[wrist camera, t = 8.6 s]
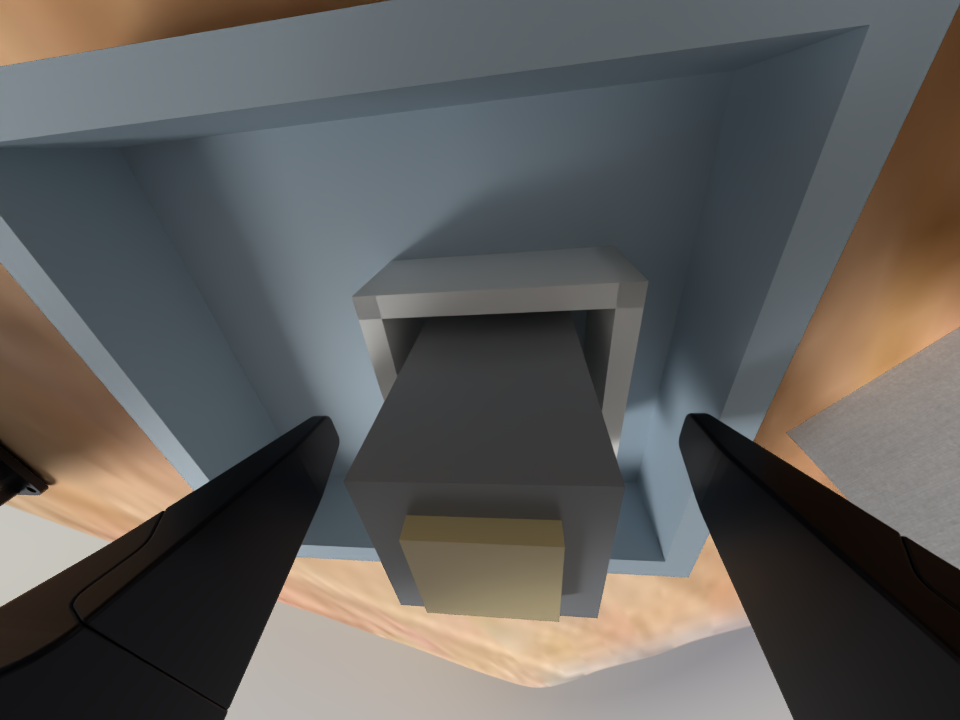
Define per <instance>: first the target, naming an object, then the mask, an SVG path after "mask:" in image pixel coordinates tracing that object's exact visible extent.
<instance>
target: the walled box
mask: <svg viewBox="0 0 960 720" xmlns="http://www.w3.org/2000/svg"><path fill="white" fill-rule="evenodd" d="M959 4H960V0H389V1H384V2H378V3H372V4H366V5H360V6H354V7H348V8H342V9H336V10H330V11H325V12H319V13H313V14H307V15H301V16H295V17H289V18H283V19H277V20H272V21H266V22H260V23H254V24H248V25H242V26H236V27H230V28H224V29H218V30H213V31H207V32H201V33H195V34H189V35H183V36H177V37H171V38H165V39H160V40H154V41H148V42H142V43H136V44H130V45H124V46H118V47H112V48H106V49H101V50H95V51H89V52H83V53H77V54H71V55H65V56H59V57H53V58H48V59H42V60H36V61H30V62H24V63H18V64H12V65H6V66H0V263H1V264H2V265H3V266H4V268H5V269H6V270H7V271H8V272H9V273H10V275H11V276H12V277H13V278H14V279H15V281H16V282H17V283H18V284H19V285H20V286H21V288H22V289H23V290H24V291H25V292H26V293H27V295H28V296H29V297H30V298H31V299H32V301H33V302H34V303H35V304H36V305H37V306H38V308H39V309H40V310H41V311H42V312H43V314H44V315H45V316H46V317H47V318H48V319H49V321H50V322H51V323H52V324H53V325H54V327H55V328H56V329H57V330H58V331H59V332H60V334H61V335H62V336H63V337H64V338H65V339H66V341H67V342H68V343H69V344H70V345H71V347H72V348H73V349H74V350H75V351H76V352H77V354H78V355H79V356H80V357H81V358H82V360H83V361H84V362H85V363H86V364H87V365H88V367H89V368H90V369H91V370H92V371H93V373H94V374H95V375H96V376H97V377H98V378H99V380H100V381H101V382H102V383H103V384H104V386H105V387H106V388H107V389H108V390H109V391H110V393H111V394H112V395H113V396H114V397H115V398H116V400H117V401H118V402H119V403H120V404H121V406H122V407H123V408H124V409H125V410H126V411H127V413H128V414H129V415H130V416H131V417H132V419H133V420H134V421H135V422H136V423H137V424H138V426H139V427H140V428H141V429H142V430H143V432H144V433H145V434H146V435H147V436H148V437H149V439H150V440H151V441H152V442H153V443H154V444H155V446H156V447H157V448H158V449H159V450H160V452H161V453H162V454H163V455H164V456H165V457H166V459H167V460H168V461H169V462H170V463H171V465H172V466H173V467H174V468H175V469H176V470H177V472H178V473H179V474H180V475H181V476H182V478H183V479H184V480H185V481H186V482H187V483H188V485H189V486H190V487H191V488H192V489H193V491H195V490H196V489H198V488H200V487H201V486H203V485H204V484H206V483H208V482H209V481H211V480H212V479H214V478H215V477H217V476H219V475H220V474H222V473H223V472H225V471H227V470H228V469H230V468H231V467H233V466H234V465H236V464H238V463H239V462H241V461H242V460H244V459H245V458H247V457H249V456H250V455H252V454H253V453H255V452H257V451H258V450H260V449H261V448H263V447H264V446H266V445H268V444H269V443H271V442H272V441H274V440H276V439H277V438H279V437H280V436H282V435H283V434H285V433H287V432H288V431H290V430H291V429H293V428H294V427H296V426H298V425H299V424H301V423H302V422H304V421H306V420H307V419H309V418H310V417H312V416H318V415H326V416H329V417H330V418H331V419H332V421H333V424H334V426H335V428H336V431H337V433H338V435H339V439H340V444H339V448H338V451H337V454H336V457H335V460H334V464H333V467H332V470H331V473H330V476H329V479H328V482H327V485H326V488H325V491H324V494H323V496H322V499H321V501H320V504H319V506H318V509H317V511H316V513H315V515H314V518H313V520H312V522H311V524H310V527H309V529H308V531H307V533H306V536H305V538H304V540H303V542H302V545H301V547H300V549H299V551H298V554H297V556H296V557H303V558H323V559H342V560H361V561H380V559H379V556H378V554H377V552H376V550H375V548H374V546H373V544H372V541H371V539H370V537H369V535H368V533H367V531H366V529H365V527H364V524H363V522H362V520H361V518H360V516H359V514H358V512H357V510H356V507H355V505H354V503H353V501H352V499H351V497H350V495H349V492H348V490H347V488H346V486H345V484H344V482H343V481H344V479H345V477H346V475H347V473H348V471H349V469H350V467H351V465H352V463H353V461H354V459H355V458H356V456H357V454H358V452H359V450H360V448H361V446H362V444H363V442H364V440H365V438H366V436H367V434H368V432H369V430H370V429H371V427H372V425H373V423H374V421H375V419H376V417H377V415H378V413H379V411H380V409H381V407H382V405H383V403H384V400H383V397H382V394H381V391H380V387H379V384H378V381H377V378H376V374H375V371H374V368H373V365H372V362H371V358H370V355H369V352H368V349H367V345H366V342H365V339H364V336H363V333H362V329H361V326H360V323H359V320H358V316H357V313H356V310H355V307H354V304H353V300H352V296H353V295H354V294H355V293H356V292H357V291H359V290H360V289H361V288H362V287H363V286H364V285H365V284H366V283H367V282H368V281H369V280H371V279H372V278H373V277H374V276H375V275H376V274H377V273H378V272H379V271H380V270H381V269H383V268H384V267H385V266H386V265H387V264H388V263H389V262H390V261H393V260H408V259H423V258H437V257H452V256H467V255H482V254H497V253H512V252H527V251H542V250H557V249H572V248H587V247H601V246H615V247H616V248H617V249H618V250H619V251H620V252H621V253H622V254H623V255H624V256H625V257H626V258H627V259H628V260H629V261H630V262H631V263H632V264H633V265H634V266H635V267H636V269H637V270H638V271H639V272H640V273H641V274H642V275H643V276H644V277H645V278H646V279H647V280H648V281H649V282H648V287H647V293H646V298H645V304H644V309H643V315H642V321H641V326H640V332H639V337H638V343H637V348H636V354H635V359H634V365H633V370H632V376H631V381H630V387H629V393H628V398H627V404H626V409H625V415H624V420H623V426H622V431H621V437H620V442H619V448H618V454H617V462H618V465H619V469H620V472H621V475H622V478H623V481H624V484H625V490H624V495H623V500H622V504H621V509H620V514H619V519H618V523H617V528H616V533H615V537H614V542H613V547H612V551H611V556H610V561H609V566H608V570H607V573H613V574H633V575H652V576H671V577H689V575H690V573H691V571H692V569H693V567H694V565H695V563H696V560H697V558H698V556H699V554H700V552H701V550H702V548H703V546H704V544H705V541H706V539H707V537H708V535H709V533H710V532H709V530H708V528H707V525H706V523H705V521H704V519H703V516H702V514H701V512H700V509H699V507H698V504H697V501H696V498H695V495H694V492H693V489H692V486H691V483H690V479H689V476H688V473H687V470H686V467H685V464H684V461H683V458H682V455H681V451H680V448H679V436H680V432H681V429H682V426H683V423H684V420H685V417H686V415H687V414H689V413H707V414H710V415H711V416H713V417H715V418H716V419H718V420H720V421H721V422H723V423H724V424H726V425H728V426H729V427H731V428H732V429H734V430H736V431H737V432H739V433H740V434H742V435H744V436H745V437H747V438H748V439H750V440H752V441H753V440H754V438H755V436H756V434H757V432H758V429H759V427H760V425H761V423H762V421H763V419H764V417H765V415H766V413H767V410H768V408H769V406H770V404H771V402H772V400H773V398H774V396H775V393H776V391H777V389H778V387H779V385H780V383H781V381H782V379H783V377H784V374H785V372H786V370H787V368H788V366H789V364H790V362H791V360H792V358H793V355H794V353H795V351H796V349H797V347H798V345H799V343H800V341H801V339H802V336H803V334H804V332H805V330H806V328H807V326H808V324H809V322H810V319H811V317H812V315H813V313H814V311H815V309H816V307H817V305H818V303H819V300H820V298H821V296H822V294H823V292H824V290H825V288H826V286H827V284H828V281H829V279H830V277H831V275H832V273H833V271H834V269H835V267H836V265H837V262H838V260H839V258H840V256H841V254H842V252H843V250H844V248H845V245H846V243H847V241H848V239H849V237H850V235H851V233H852V231H853V229H854V226H855V224H856V222H857V220H858V218H859V216H860V214H861V212H862V210H863V207H864V205H865V203H866V201H867V199H868V197H869V195H870V193H871V191H872V188H873V186H874V184H875V182H876V180H877V178H878V176H879V174H880V171H881V169H882V167H883V165H884V163H885V161H886V159H887V157H888V155H889V152H890V150H891V148H892V146H893V144H894V142H895V140H896V138H897V136H898V133H899V131H900V129H901V127H902V125H903V123H904V121H905V119H906V117H907V114H908V112H909V110H910V108H911V106H912V104H913V102H914V100H915V98H916V95H917V93H918V91H919V89H920V87H921V85H922V83H923V81H924V78H925V76H926V74H927V72H928V70H929V68H930V66H931V64H932V62H933V59H934V57H935V55H936V53H937V51H938V49H939V47H940V45H941V43H942V40H943V38H944V36H945V34H946V32H947V30H948V28H949V26H950V24H951V21H952V19H953V17H954V15H955V13H956V11H957V9H958V7H959ZM570 313H571V316H572V320H573V323H574V326H575V329H576V332H577V335H578V339H579V342H580V345H581V348H582V351H583V354H584V345H585V334H586V322H587V310H570ZM421 318H422V323H423V326H424V324H425V322H426V320H427V318H428V317H421Z"/></svg>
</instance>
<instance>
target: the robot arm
mask: <svg viewBox="0 0 960 720" xmlns="http://www.w3.org/2000/svg"><path fill="white" fill-rule="evenodd" d="M339 444H340V439H339V435H338V433H337V431H336V428H335V426H334V424H333V421H332V419H331V418H330V417H329V416H326V415H318V416H312V417H310V418H309V419H307V420H306V421H304V422H302V423H301V424H299V425H298V426H296V427H294V428H293V429H291V430H290V431H288V432H287V433H285V434H283V435H282V436H280V437H279V438H277V439H276V440H274V441H272V442H271V443H269V444H268V445H266V446H264V447H263V448H261V449H260V450H258V451H257V452H255V453H253V454H252V455H250V456H249V457H247V458H245V459H244V460H242V461H241V462H239V463H238V464H236V465H234V466H233V467H231V468H230V469H228V470H227V471H225V472H223V473H222V474H220V475H219V476H217V477H215V478H214V479H212V480H211V481H209V482H208V483H206V484H204V485H203V486H201V487H200V488H198V489H196V490H195V491H193V492H192V493H190V494H189V495H187V496H185V497H184V498H182V499H181V500H179V501H178V502H176V503H174V504H173V505H171V506H170V507H168V508H167V509H166V510H165V511H162V512H160V513H158V514H157V515H155V516H154V517H152V518H151V519H149V520H147V521H146V522H144V523H143V524H141V525H139V526H138V527H136V528H135V529H133V530H131V531H130V532H128V533H126V534H125V535H123V536H122V537H120V538H118V539H117V540H115V541H114V542H112V543H110V544H108V545H107V546H105V547H103V548H102V549H100V550H98V551H97V552H95V553H93V554H91V555H90V556H88V557H86V558H85V559H83V560H81V561H79V562H78V563H76V564H74V565H73V566H71V567H69V568H67V569H66V570H64V571H62V572H61V573H59V574H57V575H55V576H54V577H52V578H50V579H48V580H47V581H45V582H43V583H41V584H40V585H38V586H36V587H35V588H33V589H31V590H29V591H27V592H26V593H24V594H22V595H20V596H19V597H17V598H15V599H14V600H12V601H10V602H8V603H7V604H5V605H3V606H1V607H0V720H224V719H225V717H226V714H227V709H228V708H229V707H230V705H231V703H232V700H233V698H234V696H235V694H236V691H237V689H238V687H239V685H240V682H241V680H242V678H243V676H244V673H245V671H246V669H247V666H248V664H249V662H250V660H251V657H252V655H253V653H254V651H255V648H256V646H257V644H258V642H259V639H260V637H261V635H262V633H263V630H264V628H265V626H266V624H267V621H268V619H269V617H270V615H271V612H272V610H273V608H274V605H275V603H276V601H277V599H278V597H279V594H280V592H281V590H282V588H283V585H284V583H285V581H286V579H287V576H288V574H289V572H290V570H291V567H292V565H293V563H294V560H295V558H296V556H297V554H298V551H299V549H300V547H301V545H302V542H303V540H304V538H305V536H306V533H307V531H308V529H309V527H310V524H311V522H312V520H313V518H314V515H315V513H316V511H317V509H318V506H319V504H320V501H321V499H322V496H323V494H324V491H325V488H326V485H327V482H328V479H329V476H330V473H331V470H332V467H333V464H334V460H335V457H336V454H337V451H338V448H339ZM679 448H680V451H681V455H682V458H683V461H684V464H685V467H686V470H687V473H688V476H689V479H690V483H691V486H692V489H693V492H694V495H695V498H696V501H697V504H698V507H699V509H700V512H701V514H702V516H703V519H704V521H705V523H706V525H707V528H708V530H709V532H710V534H711V537H712V539H713V541H714V543H715V546H716V548H717V550H718V552H719V554H720V557H721V559H722V561H723V563H724V566H725V568H726V570H727V572H728V574H729V577H730V579H731V581H732V583H733V586H734V588H735V590H736V592H737V594H738V597H739V599H740V601H741V603H742V606H743V608H744V610H745V612H746V614H747V617H748V619H749V621H750V623H751V626H752V628H753V630H754V632H755V635H756V637H757V639H758V641H759V643H760V646H761V648H762V650H763V652H764V655H765V657H766V659H767V661H768V663H769V666H770V668H771V670H772V672H773V674H774V677H775V679H776V681H777V683H778V685H779V688H780V690H781V692H782V695H783V697H784V699H785V701H786V703H787V706H788V708H789V710H790V712H791V715H792V717H793V719H794V720H960V569H958V568H956V567H955V566H953V565H951V564H950V563H948V562H947V561H945V560H943V559H942V558H940V557H938V556H937V555H935V554H933V553H932V552H930V551H929V550H927V549H925V548H924V547H922V546H921V545H919V544H917V543H916V542H914V541H913V540H911V539H909V538H908V537H906V536H901V535H900V533H899V532H898V531H896V530H895V529H893V528H891V527H890V526H888V525H887V524H885V523H883V522H882V521H880V520H879V519H877V518H875V517H874V516H872V515H871V514H869V513H867V512H866V511H864V510H863V509H861V508H859V507H858V506H856V505H854V504H853V503H851V502H850V501H848V500H846V499H845V498H843V497H842V496H840V495H838V494H837V493H835V492H834V491H832V490H830V489H829V488H827V487H826V486H824V485H822V484H821V483H819V482H818V481H816V480H814V479H813V478H811V477H809V476H808V475H806V474H805V473H803V472H801V471H800V470H798V469H797V468H795V467H793V466H792V465H790V464H789V463H787V462H785V461H784V460H782V459H781V458H779V457H777V456H776V455H774V454H773V453H771V452H769V451H768V450H766V449H765V448H763V447H761V446H760V445H758V444H756V443H755V442H753V441H752V440H750V439H748V438H747V437H745V436H744V435H742V434H740V433H739V432H737V431H736V430H734V429H732V428H731V427H729V426H728V425H726V424H724V423H723V422H721V421H720V420H718V419H716V418H715V417H713V416H711V415H710V414H707V413H689V414H687V415H686V417H685V420H684V423H683V426H682V429H681V432H680V436H679ZM47 489H48V486H47V485H46V484H45V483H44V482H43V481H41V480H40V479H39V478H38V477H37V476H35V475H34V474H33V473H32V472H31V471H29V470H28V469H27V468H26V467H25V466H23V465H22V464H21V463H20V462H19V461H17V460H16V459H15V458H14V457H13V456H12V455H10V454H9V453H8V452H7V451H6V450H4V449H3V448H2V447H1V446H0V506H1V505H3V504H4V503H6V502H7V501H9V500H10V499H11V498H13V497H14V496H16V495H40V494H42V493H43V492H45V491H46V490H47Z"/></svg>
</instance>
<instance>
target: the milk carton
mask: <svg viewBox="0 0 960 720" xmlns="http://www.w3.org/2000/svg"><path fill="white" fill-rule="evenodd" d="M787 434H788V435H789V436H790V437H791V438H792V440H793V441H794V442H795V443H796V444H797V445H798V446H799V447H800V448H801V449H802V450H803V451H804V452H805V454H806V455H807V456H808V457H809V458H810V459H811V460H812V461H813V462H814V463H815V464H816V465H817V466H818V467H819V469H820V470H821V471H822V472H823V473H824V474H825V475H826V476H827V477H828V478H829V479H830V480H831V481H832V483H833V484H834V485H835V486H836V487H837V488H838V489H839V490H840V491H841V492H842V493H843V494H844V495H845V497H846V498H847V499H848V500H849V501H850V502H851V503H853V504H854V505H856V506H858V507H859V508H861V509H863V510H864V511H866V512H867V513H869V514H871V515H872V516H874V517H875V518H877V519H879V520H880V521H882V522H883V523H885V524H887V525H888V526H890V527H891V528H893V529H895V530H896V531H898V532H899V533H900V535H901V536H906V537H908V538H909V539H911V540H913V541H914V542H916V543H917V544H919V545H921V546H922V547H924V548H925V549H927V550H929V551H930V552H932V553H933V554H935V555H937V556H938V557H940V558H942V559H943V560H945V561H947V562H948V563H950V564H951V565H953V566H955V567H956V568H958V569H960V327H959V328H957V329H956V330H954V331H952V332H951V333H949V334H948V335H946V336H944V337H943V338H941V339H939V340H938V341H936V342H934V343H933V344H931V345H929V346H928V347H926V348H925V349H923V350H921V351H920V352H918V353H916V354H915V355H913V356H911V357H910V358H908V359H907V360H905V361H903V362H902V363H900V364H898V365H897V366H895V367H893V368H892V369H890V370H888V371H887V372H885V373H884V374H882V375H880V376H879V377H877V378H875V379H874V380H872V381H870V382H869V383H867V384H865V385H864V386H862V387H861V388H859V389H857V390H856V391H854V392H852V393H851V394H849V395H847V396H846V397H844V398H842V399H841V400H839V401H838V402H836V403H834V404H833V405H831V406H829V407H828V408H826V409H824V410H823V411H821V412H820V413H818V414H816V415H815V416H813V417H811V418H810V419H808V420H806V421H805V422H803V423H801V424H800V425H798V426H797V427H795V428H793V429H792V430H790V431H788V432H787Z"/></svg>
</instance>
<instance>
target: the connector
mask: <svg viewBox="0 0 960 720" xmlns="http://www.w3.org/2000/svg"><path fill="white" fill-rule="evenodd" d="M343 482H344V484H345V486H346V488H347V490H348V492H349V495H350V497H351V499H352V501H353V503H354V505H355V507H356V510H357V512H358V514H359V516H360V518H361V520H362V522H363V524H364V527H365V529H366V531H367V533H368V535H369V537H370V539H371V541H372V544H373V546H374V548H375V550H376V552H377V554H378V556H379V559H380V561H381V563H382V565H383V567H384V569H385V571H386V573H387V576H388V578H389V580H390V582H391V584H392V586H393V588H394V590H395V593H396V595H397V597H398V599H399V601H400V603H401V605H411V606H425V608H426V611H427V613H440V614H454V615H469V616H483V617H497V618H511V619H526V620H540V621H554V622H559V617H560V616H573V617H588V618H597V617H598V613H599V608H600V603H601V599H602V594H603V589H604V584H605V580H606V575H607V570H608V566H609V561H610V556H611V551H612V547H613V542H614V537H615V533H616V528H617V523H618V519H619V514H620V509H621V504H622V500H623V495H624V490H625V484H624V481H623V478H622V475H621V472H620V469H619V465H618V462H617V459H616V456H615V453H614V450H613V446H612V443H611V440H610V437H609V434H608V431H607V427H606V424H605V421H604V418H603V415H602V412H601V408H600V405H599V402H598V399H597V396H596V393H595V389H594V386H593V383H592V380H591V377H590V374H589V370H588V367H587V364H586V361H585V358H584V354H583V351H582V348H581V345H580V342H579V339H578V335H577V332H576V329H575V326H574V323H573V320H572V316H571V313H570V311H548V312H525V313H502V314H480V315H457V316H435V317H428V318H427V320H426V322H425V324H424V326H423V328H422V330H421V332H420V334H419V336H418V338H417V340H416V342H415V343H414V345H413V347H412V349H411V351H410V353H409V355H408V357H407V359H406V361H405V363H404V365H403V367H402V369H401V371H400V372H399V374H398V376H397V378H396V380H395V382H394V384H393V386H392V388H391V390H390V392H389V394H388V396H387V398H386V400H385V401H384V403H383V405H382V407H381V409H380V411H379V413H378V415H377V417H376V419H375V421H374V423H373V425H372V427H371V429H370V430H369V432H368V434H367V436H366V438H365V440H364V442H363V444H362V446H361V448H360V450H359V452H358V454H357V456H356V458H355V459H354V461H353V463H352V465H351V467H350V469H349V471H348V473H347V475H346V477H345V479H344V481H343Z"/></svg>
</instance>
